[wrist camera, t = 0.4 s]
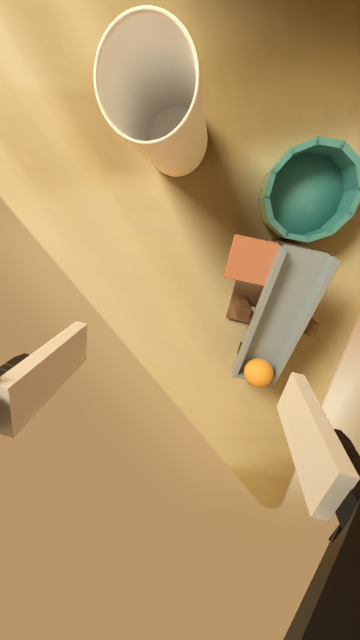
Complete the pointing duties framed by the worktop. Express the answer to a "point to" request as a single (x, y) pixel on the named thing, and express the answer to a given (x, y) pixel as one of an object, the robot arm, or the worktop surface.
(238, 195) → the worktop surface
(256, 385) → the ball
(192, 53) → the cup
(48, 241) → the worktop surface
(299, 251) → the lever
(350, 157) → the dish
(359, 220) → the worktop surface
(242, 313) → the stand
